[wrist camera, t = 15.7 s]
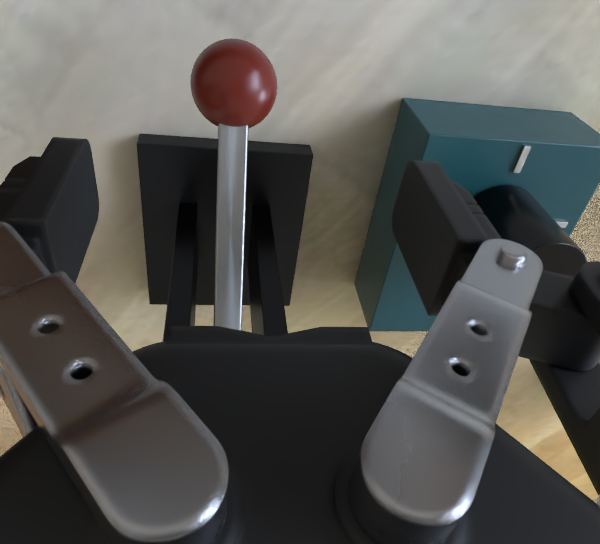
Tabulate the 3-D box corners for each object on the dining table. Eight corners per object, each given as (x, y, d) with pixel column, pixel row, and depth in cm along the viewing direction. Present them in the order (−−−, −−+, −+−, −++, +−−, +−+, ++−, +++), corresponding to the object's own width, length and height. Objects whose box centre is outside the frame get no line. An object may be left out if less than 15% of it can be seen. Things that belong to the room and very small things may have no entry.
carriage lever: (192, 46, 20) (189, 22, 17) (273, 54, 20) (284, 33, 17) (187, 402, 23) (183, 438, 19) (259, 400, 23) (266, 435, 20)
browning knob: (441, 251, 28) (479, 319, 23) (471, 180, 25) (520, 244, 21) (512, 256, 28) (561, 323, 24) (550, 188, 26) (611, 251, 22)
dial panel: (402, 97, 26) (430, 135, 23) (571, 112, 28) (622, 149, 25) (354, 284, 35) (369, 333, 31) (487, 286, 36) (516, 333, 33)
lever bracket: (139, 133, 26) (84, 324, 15) (310, 144, 27) (366, 325, 17) (151, 292, 33) (119, 499, 22) (287, 294, 34) (317, 488, 24)
